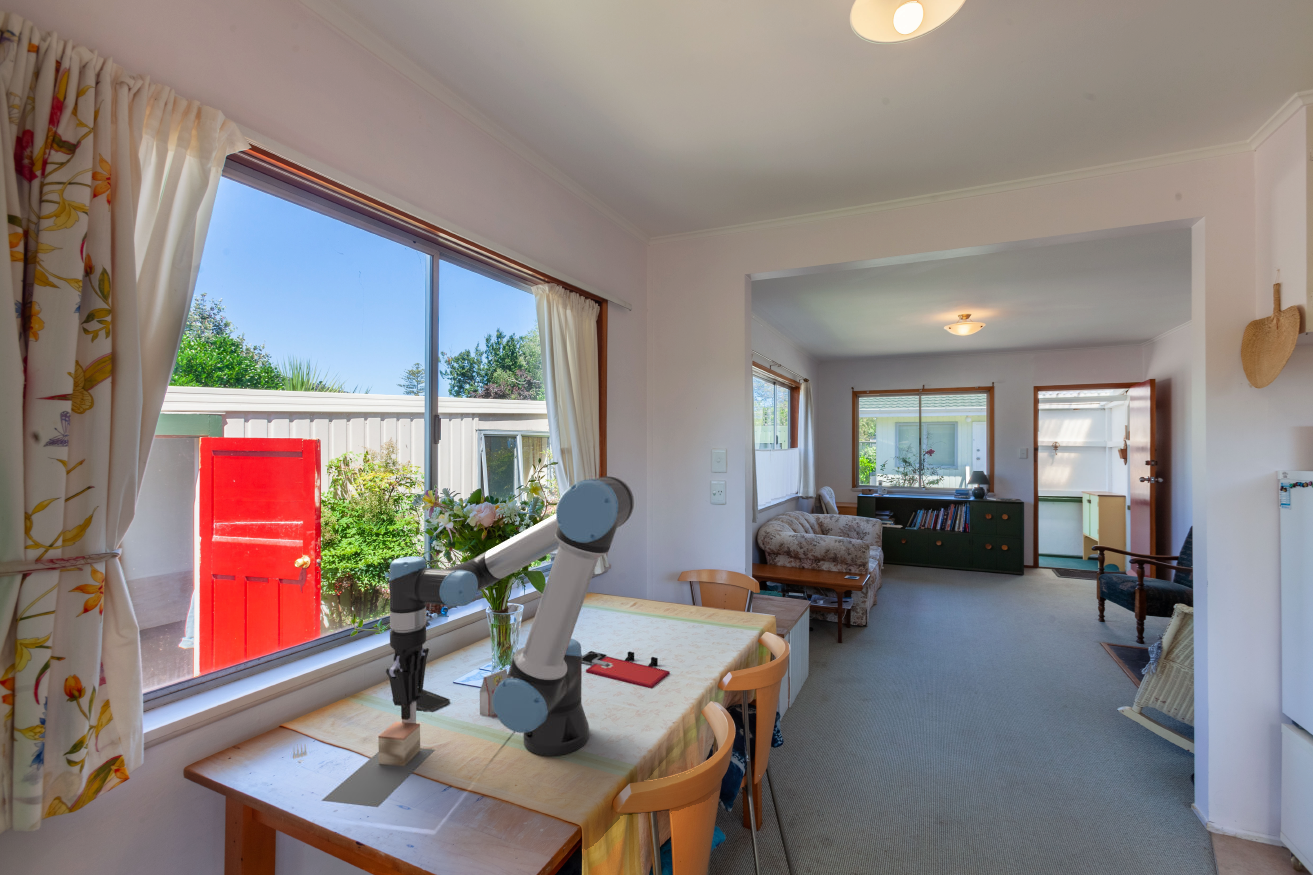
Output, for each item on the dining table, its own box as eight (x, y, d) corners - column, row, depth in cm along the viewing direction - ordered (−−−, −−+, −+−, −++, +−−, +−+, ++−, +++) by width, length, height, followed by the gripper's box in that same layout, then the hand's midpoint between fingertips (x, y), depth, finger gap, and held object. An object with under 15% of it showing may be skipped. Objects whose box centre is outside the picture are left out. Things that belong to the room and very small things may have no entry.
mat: (435, 752, 128) (435, 749, 128) (377, 809, 109) (377, 806, 109) (386, 747, 130) (386, 744, 130) (321, 803, 110) (321, 799, 110)
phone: (426, 711, 145) (390, 697, 153) (426, 716, 145) (390, 701, 153) (451, 699, 152) (416, 686, 160) (451, 703, 152) (416, 690, 160)
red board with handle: (594, 651, 188) (565, 668, 175) (594, 643, 188) (565, 659, 175) (675, 670, 174) (651, 691, 161) (675, 661, 174) (651, 681, 161)
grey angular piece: (479, 714, 146) (479, 675, 146) (501, 704, 151) (501, 666, 151) (488, 718, 143) (488, 679, 143) (510, 708, 149) (510, 670, 149)
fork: (297, 789, 115) (297, 780, 115) (292, 754, 128) (292, 745, 128) (312, 785, 117) (312, 775, 117) (306, 750, 130) (306, 741, 130)
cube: (420, 750, 128) (419, 723, 128) (404, 765, 122) (403, 738, 122) (395, 747, 129) (395, 721, 129) (378, 763, 123) (378, 735, 123)
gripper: (409, 616, 135) (410, 714, 136) (374, 636, 123) (375, 744, 123) (439, 618, 134) (439, 717, 135) (406, 638, 121) (407, 747, 122)
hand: (409, 730), depth 129 cm, fingers closed
